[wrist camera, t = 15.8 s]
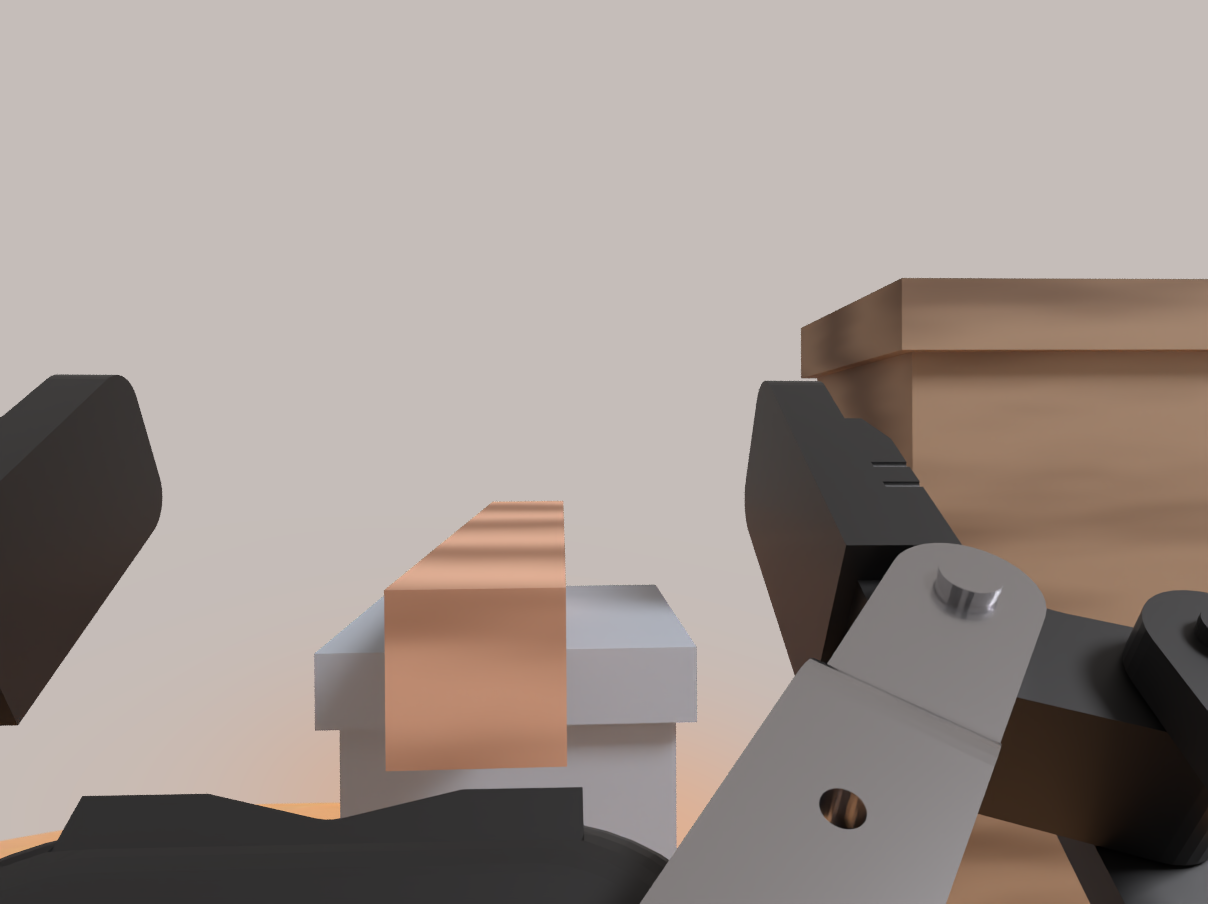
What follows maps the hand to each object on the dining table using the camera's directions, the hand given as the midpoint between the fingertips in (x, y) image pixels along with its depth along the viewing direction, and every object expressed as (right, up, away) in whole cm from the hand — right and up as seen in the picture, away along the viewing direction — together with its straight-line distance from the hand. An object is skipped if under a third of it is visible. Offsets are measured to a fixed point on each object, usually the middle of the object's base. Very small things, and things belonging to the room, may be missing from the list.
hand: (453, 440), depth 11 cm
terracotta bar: (-1, -5, +14) cm, 15 cm away
